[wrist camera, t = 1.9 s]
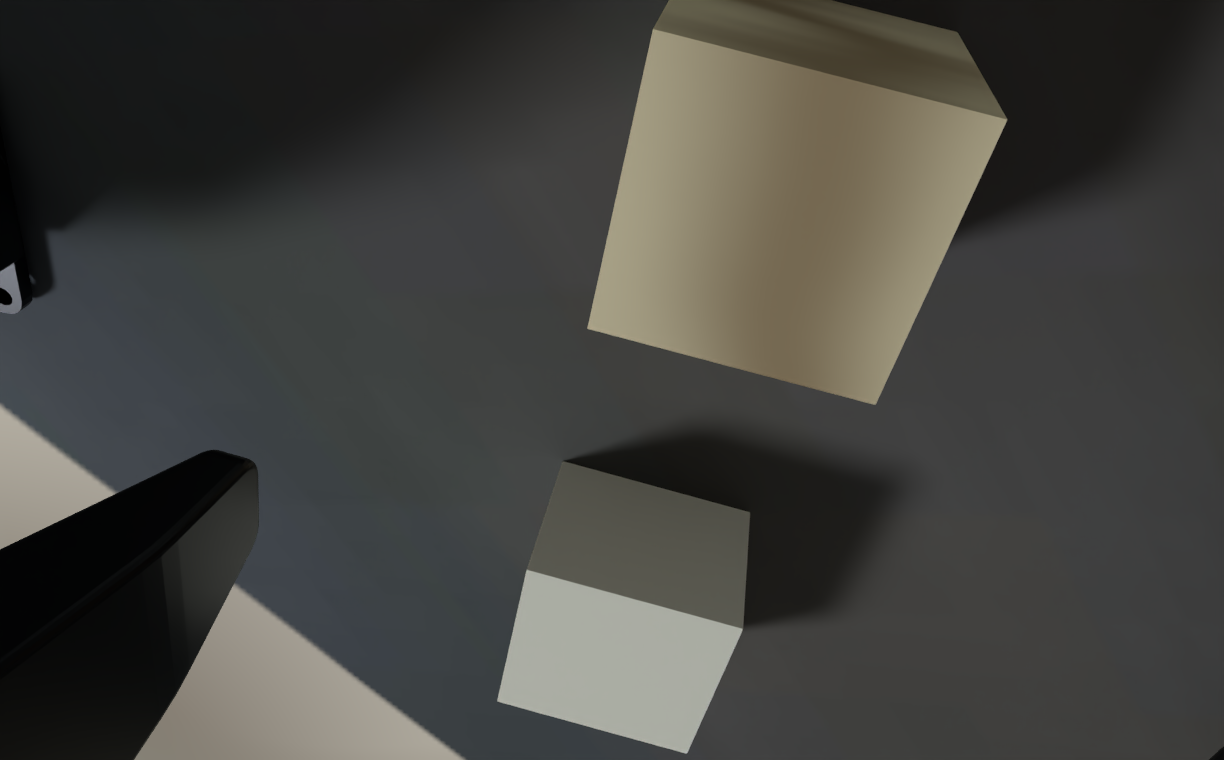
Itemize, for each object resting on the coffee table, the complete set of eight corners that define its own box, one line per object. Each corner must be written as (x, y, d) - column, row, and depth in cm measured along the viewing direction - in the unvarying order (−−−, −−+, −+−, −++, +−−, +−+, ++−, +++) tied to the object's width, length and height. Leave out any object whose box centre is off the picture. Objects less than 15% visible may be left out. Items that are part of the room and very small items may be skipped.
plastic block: (533, 586, 27) (497, 701, 24) (563, 458, 24) (526, 569, 21) (700, 631, 27) (686, 753, 23) (750, 509, 24) (743, 629, 21)
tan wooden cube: (631, 210, 20) (587, 328, 16) (688, -37, 17) (653, 28, 13) (859, 270, 20) (875, 404, 15) (957, 30, 17) (1007, 119, 13)
